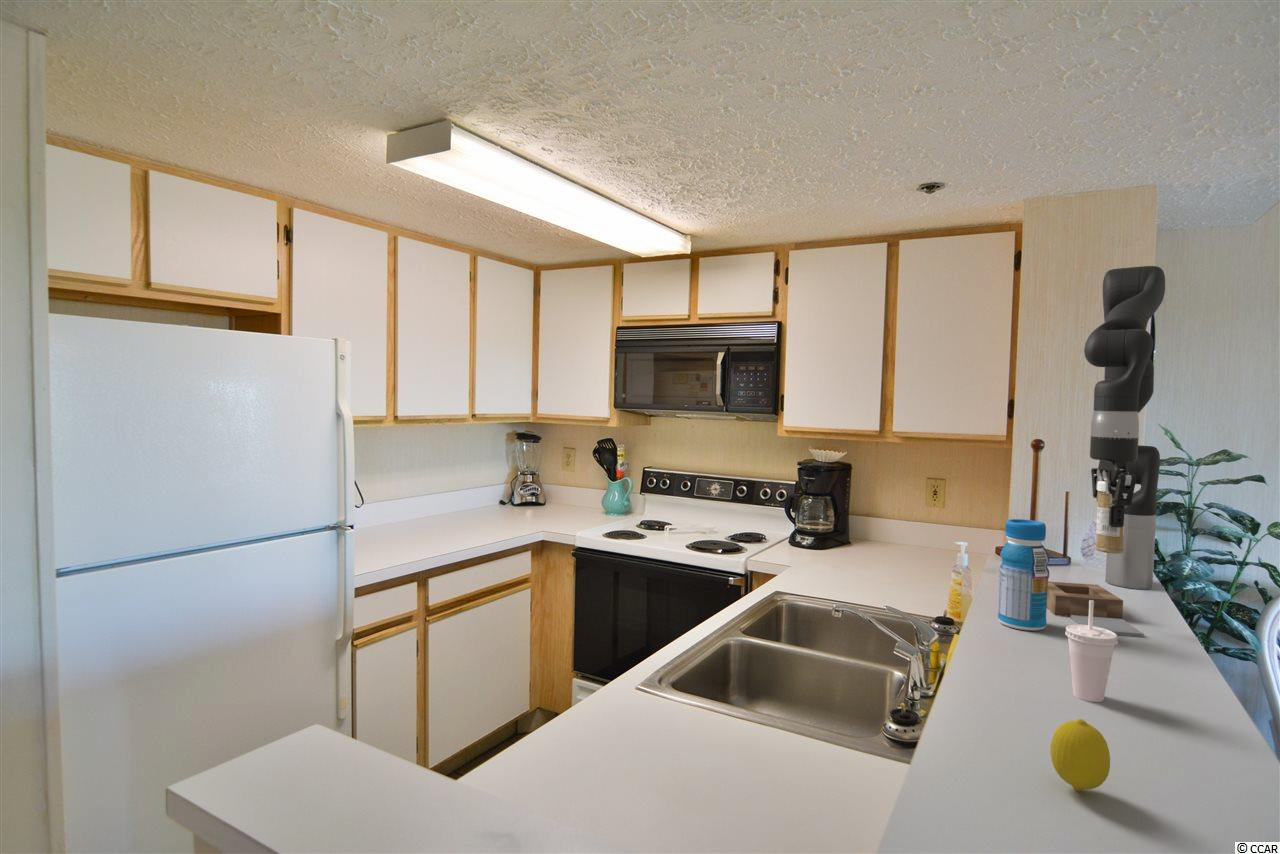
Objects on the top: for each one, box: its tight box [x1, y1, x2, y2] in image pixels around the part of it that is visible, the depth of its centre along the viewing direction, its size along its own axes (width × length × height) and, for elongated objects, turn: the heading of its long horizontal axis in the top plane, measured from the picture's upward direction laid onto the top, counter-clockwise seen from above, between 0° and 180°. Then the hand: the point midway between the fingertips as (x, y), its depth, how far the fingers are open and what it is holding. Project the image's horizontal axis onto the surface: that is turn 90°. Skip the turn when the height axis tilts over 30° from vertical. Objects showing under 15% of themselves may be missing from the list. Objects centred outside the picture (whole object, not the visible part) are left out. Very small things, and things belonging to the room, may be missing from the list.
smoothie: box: [1064, 600, 1119, 703], centre depth 100 cm, size 6×6×14 cm
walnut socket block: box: [1046, 580, 1124, 619], centre depth 144 cm, size 12×12×4 cm
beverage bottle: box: [997, 518, 1050, 632], centre depth 133 cm, size 8×8×20 cm
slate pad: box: [1070, 615, 1145, 638], centre depth 132 cm, size 9×9×1 cm
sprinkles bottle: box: [1094, 481, 1124, 554], centre depth 132 cm, size 5×5×14 cm
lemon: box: [1050, 718, 1111, 793], centre depth 76 cm, size 6×6×8 cm
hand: (1110, 524), depth 132 cm, fingers closed on sprinkles bottle, 4 cm apart
